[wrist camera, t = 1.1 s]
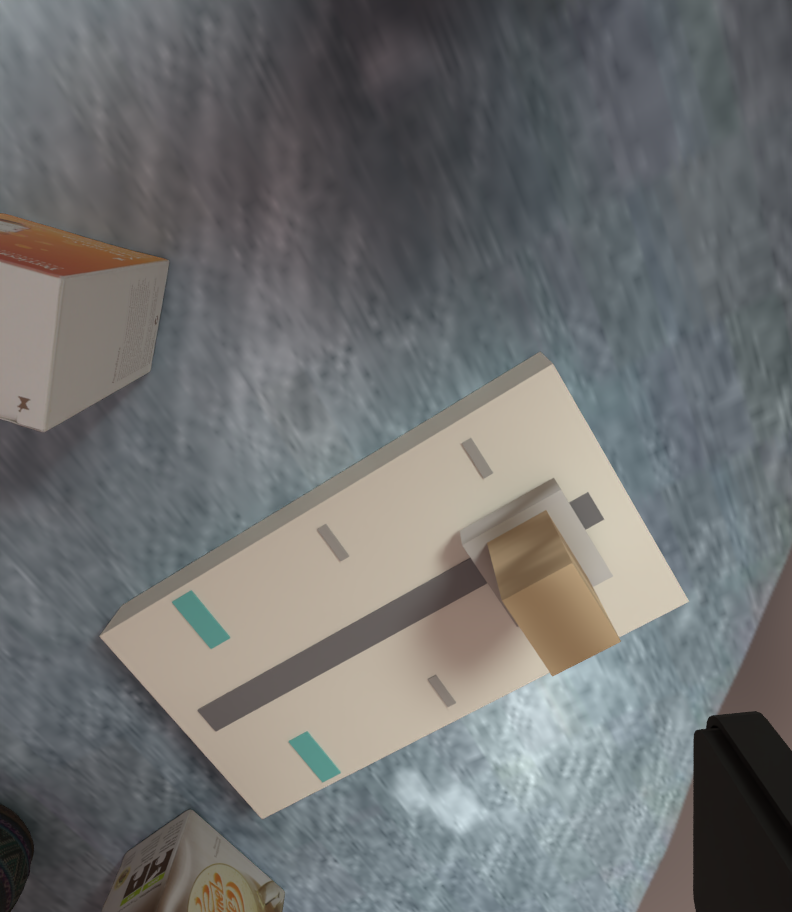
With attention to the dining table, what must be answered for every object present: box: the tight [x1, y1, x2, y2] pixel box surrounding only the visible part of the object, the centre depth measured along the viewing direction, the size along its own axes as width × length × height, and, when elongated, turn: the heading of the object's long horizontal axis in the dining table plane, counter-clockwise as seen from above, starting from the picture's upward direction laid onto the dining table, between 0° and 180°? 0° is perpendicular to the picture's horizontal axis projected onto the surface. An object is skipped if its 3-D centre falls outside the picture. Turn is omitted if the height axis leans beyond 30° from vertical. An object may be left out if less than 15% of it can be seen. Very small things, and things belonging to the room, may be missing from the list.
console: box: [100, 352, 689, 819], centre depth 36 cm, size 26×14×3 cm, turn 123°
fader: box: [460, 478, 621, 676], centre depth 30 cm, size 5×5×6 cm
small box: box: [0, 213, 169, 432], centre depth 28 cm, size 8×6×10 cm
